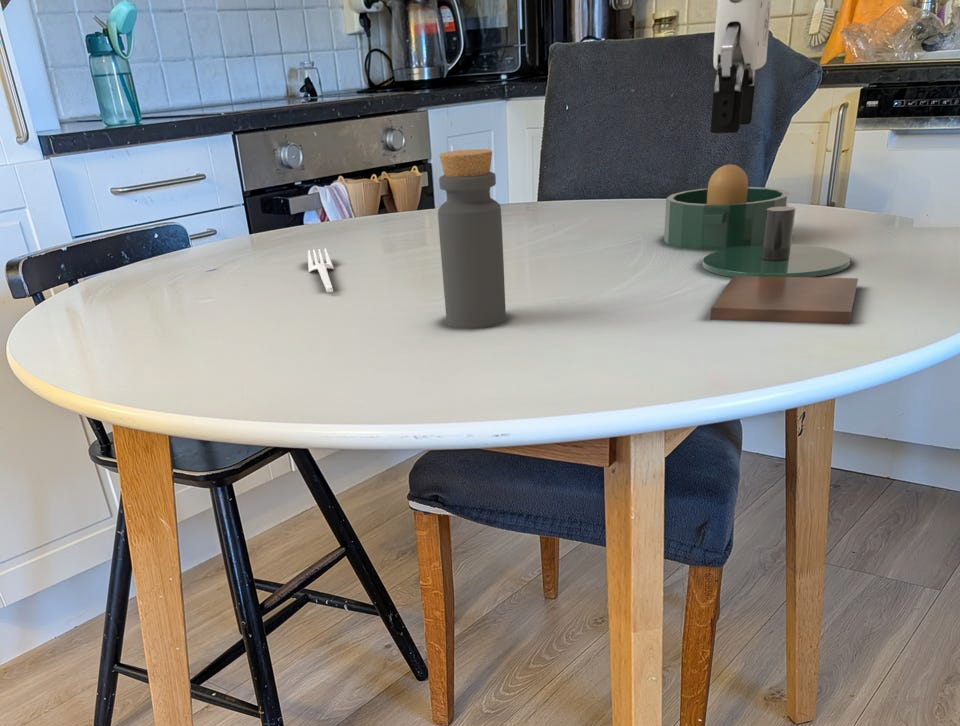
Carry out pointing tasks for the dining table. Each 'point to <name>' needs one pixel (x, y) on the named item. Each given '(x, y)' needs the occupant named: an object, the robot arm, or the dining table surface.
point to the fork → (321, 268)
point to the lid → (777, 253)
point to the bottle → (471, 241)
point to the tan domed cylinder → (727, 186)
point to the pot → (719, 219)
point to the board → (786, 299)
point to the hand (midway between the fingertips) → (731, 128)
